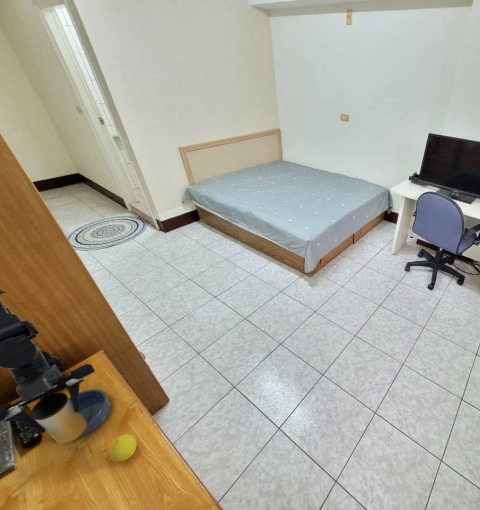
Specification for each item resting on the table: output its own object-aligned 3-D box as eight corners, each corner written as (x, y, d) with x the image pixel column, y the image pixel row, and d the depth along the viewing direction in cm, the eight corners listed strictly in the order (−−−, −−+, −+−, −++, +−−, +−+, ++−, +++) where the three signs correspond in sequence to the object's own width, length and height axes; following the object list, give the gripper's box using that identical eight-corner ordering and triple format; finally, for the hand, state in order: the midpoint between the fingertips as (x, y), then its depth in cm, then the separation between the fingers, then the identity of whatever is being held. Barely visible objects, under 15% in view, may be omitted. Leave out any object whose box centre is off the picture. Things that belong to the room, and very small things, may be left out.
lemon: (127, 469, 68) (117, 455, 64) (109, 463, 68) (97, 449, 64) (145, 446, 72) (136, 431, 68) (128, 440, 73) (118, 426, 69)
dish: (51, 418, 76) (44, 410, 74) (104, 388, 85) (100, 381, 82) (60, 450, 70) (53, 443, 68) (116, 415, 78) (112, 408, 76)
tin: (52, 431, 68) (28, 405, 61) (84, 413, 72) (64, 387, 65) (58, 450, 64) (32, 425, 58) (90, 430, 69) (69, 404, 62)
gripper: (-48, 398, 51) (-8, 465, 52) (77, 342, 65) (108, 396, 65) (-27, 394, 59) (8, 453, 60) (80, 345, 72) (108, 393, 73)
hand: (61, 421), depth 64 cm, fingers closed on tin, 6 cm apart
